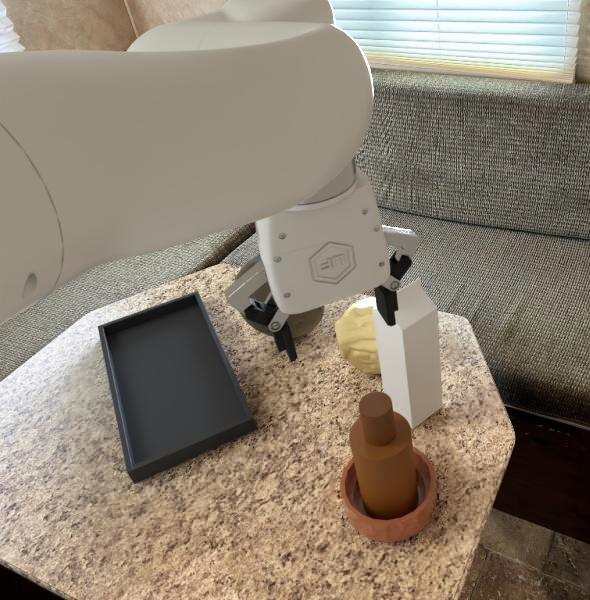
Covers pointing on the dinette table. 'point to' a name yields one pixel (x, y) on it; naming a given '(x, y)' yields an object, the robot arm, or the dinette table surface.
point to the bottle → (384, 458)
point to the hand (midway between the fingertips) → (339, 334)
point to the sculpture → (359, 336)
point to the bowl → (398, 526)
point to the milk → (411, 355)
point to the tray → (171, 386)
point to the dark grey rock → (296, 322)
